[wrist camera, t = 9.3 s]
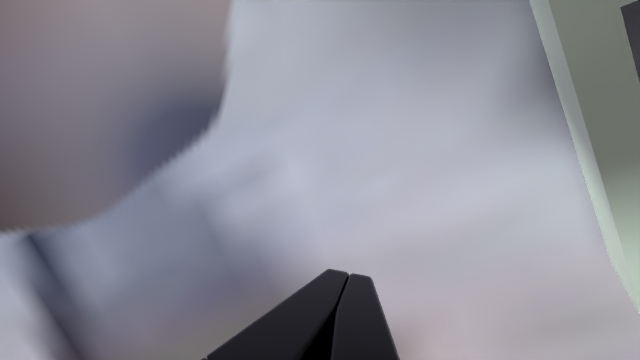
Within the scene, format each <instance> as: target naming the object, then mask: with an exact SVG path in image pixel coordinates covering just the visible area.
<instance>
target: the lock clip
mask: <svg viewBox="0 0 640 360" xmlns="http://www.w3.org/2000/svg"><path fill="white" fill-rule="evenodd" d="M529 1H530V4H531V8H532V11H533V14H534V17H535V20H536V24H537V27H538V30H539V33H540V37H541V40H542V43H543V46H544V49H545V53H546V56H547V59H548V62H549V66H550V69H551V72H552V75H553V78H554V82H555V85H556V88H557V91H558V95H559V98H560V101H561V104H562V107H563V111H564V114H565V117H566V120H567V124H568V127H569V130H570V133H571V136H572V140H573V143H574V146H575V149H576V153H577V156H578V159H579V162H580V165H581V169H582V172H583V175H584V178H585V182H586V185H587V188H588V191H589V194H590V198H591V201H592V204H593V207H594V211H595V214H596V217H597V220H598V223H599V227H600V230H601V233H602V236H603V240H604V243H605V246H606V249H607V252H608V256H609V259H610V262H611V264H612V266H613V268H614V269H615V271H616V273H617V275H618V277H619V278H620V280H621V282H622V284H623V286H624V288H625V289H626V291H627V293H628V295H629V297H630V298H631V300H632V302H633V304H634V306H635V308H636V309H637V311H638V313H639V315H640V82H639V78H638V74H637V70H636V66H635V62H634V58H633V55H632V51H631V47H630V43H629V39H628V35H627V31H626V27H625V23H624V20H623V16H622V12H621V8H620V7H622V6H625V5H627V4H630V3H632V2H635V1H637V0H529Z"/></svg>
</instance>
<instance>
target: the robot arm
mask: <svg viewBox="0 0 640 360" xmlns="http://www.w3.org/2000/svg"><path fill="white" fill-rule="evenodd" d="M201 360H400V358H399V356H398V353H397V350H396V347H395V344H394V341H393V338H392V335H391V332H390V330H389V327H388V324H387V321H386V318H385V315H384V312H383V309H382V307H381V304H380V301H379V298H378V295H377V292H376V289H375V286H374V283H373V281H372V279H371V277H369V276H364V275H359V274H350V275H349V274H348V273H347V272H344V271H339V270H333V269H328V270H326V271H325V272H323V273H322V274H320V275H319V276H318V277H316V278H315V279H313V280H312V281H311V282H309V283H308V284H306V285H305V286H304V287H302V288H301V289H299V290H298V291H297V292H295V293H294V294H292V295H291V296H290V297H288V298H287V299H285V300H284V301H283V302H281V303H280V304H278V305H277V306H276V307H274V308H273V309H271V310H270V311H269V312H267V313H266V314H264V315H263V316H262V317H260V318H259V319H258V320H256V321H255V322H253V323H252V324H251V325H249V326H248V327H246V328H245V329H244V330H242V331H241V332H239V333H238V334H237V335H235V336H234V337H232V338H231V339H230V340H228V341H227V342H225V343H224V344H223V345H221V346H220V347H218V348H217V349H216V350H214V351H213V352H211V353H210V354H209V355H207V359H206V358H203V359H201Z"/></svg>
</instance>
